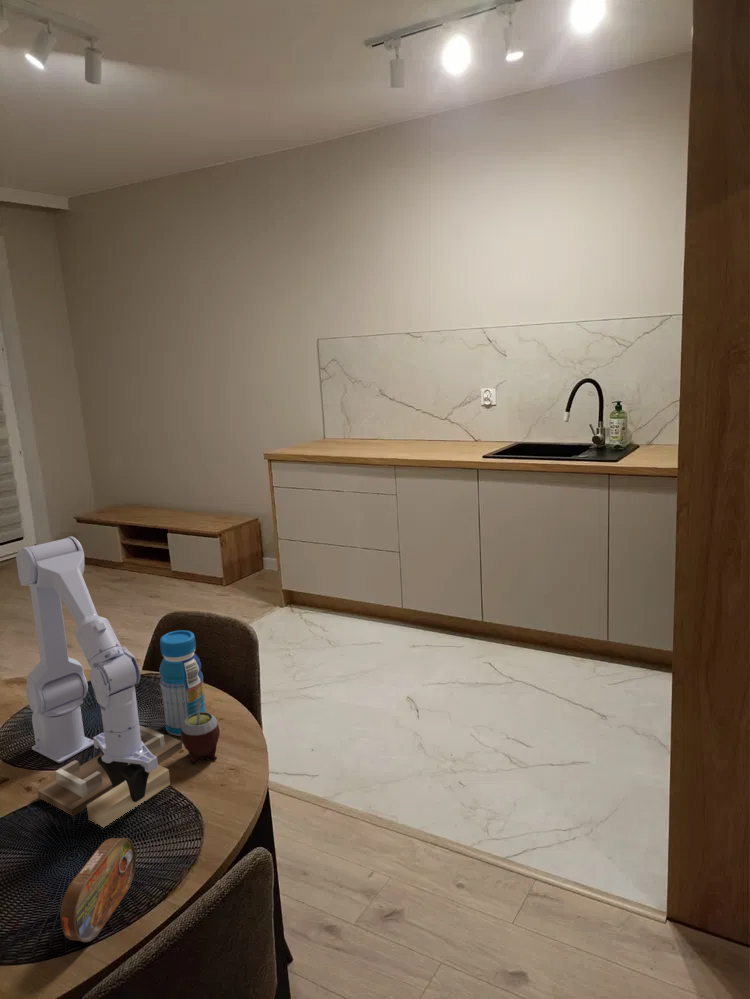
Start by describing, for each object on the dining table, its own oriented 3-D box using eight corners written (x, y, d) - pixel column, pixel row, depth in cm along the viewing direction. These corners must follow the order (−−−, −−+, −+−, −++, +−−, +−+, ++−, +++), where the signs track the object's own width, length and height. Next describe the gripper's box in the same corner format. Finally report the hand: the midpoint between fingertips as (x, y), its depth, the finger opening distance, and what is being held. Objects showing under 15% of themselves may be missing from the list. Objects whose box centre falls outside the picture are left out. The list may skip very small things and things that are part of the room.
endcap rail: (38, 797, 128) (35, 777, 127) (148, 733, 148) (146, 715, 147) (72, 817, 123) (69, 796, 122) (182, 748, 142) (180, 729, 141)
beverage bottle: (164, 740, 145) (154, 648, 140) (166, 719, 153) (156, 630, 148) (207, 734, 147) (199, 642, 142) (207, 713, 155) (198, 625, 150)
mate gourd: (199, 743, 144) (192, 673, 140) (232, 751, 140) (226, 680, 137) (174, 763, 137) (166, 691, 134) (208, 773, 134) (201, 699, 130)
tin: (82, 957, 95) (74, 903, 93) (60, 954, 96) (52, 900, 94) (140, 874, 110) (134, 825, 108) (121, 871, 110) (114, 823, 108)
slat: (88, 820, 122) (86, 805, 121) (155, 777, 133) (154, 762, 132) (103, 829, 120) (101, 813, 119) (170, 784, 131) (168, 769, 130)
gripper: (74, 722, 124) (84, 792, 127) (129, 747, 116) (138, 821, 119) (109, 704, 129) (118, 772, 133) (164, 727, 121) (172, 798, 125)
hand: (130, 794), depth 126 cm, fingers closed on slat, 4 cm apart
